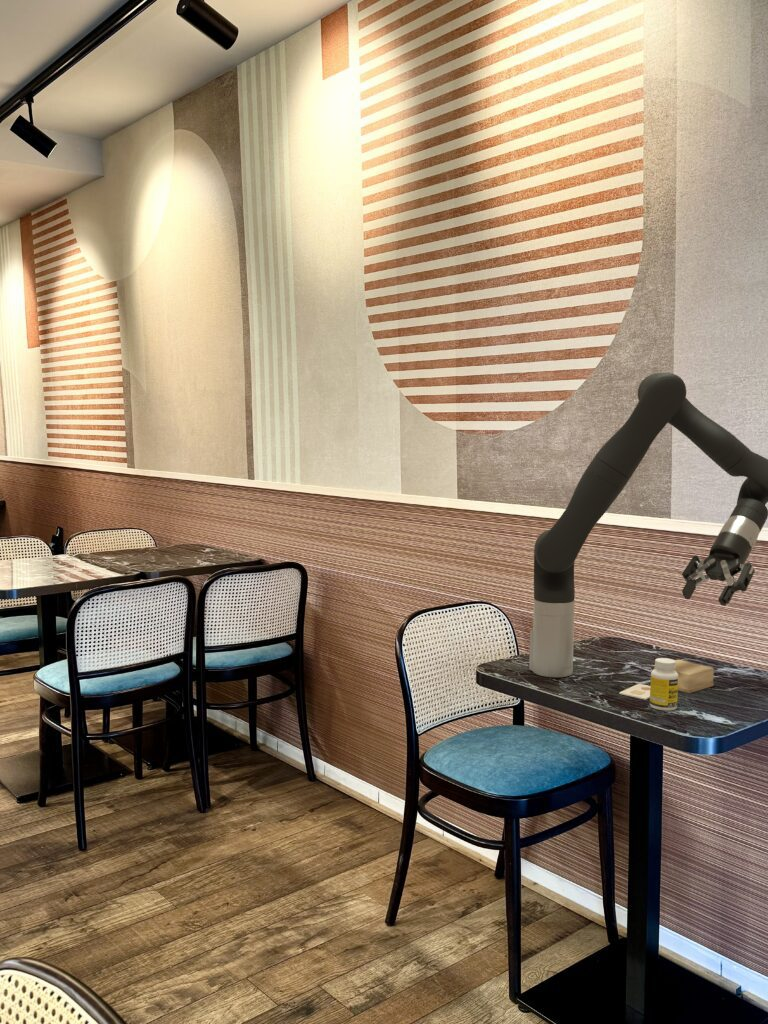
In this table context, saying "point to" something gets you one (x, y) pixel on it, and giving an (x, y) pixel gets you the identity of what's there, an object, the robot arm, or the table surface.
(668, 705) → the supplement bottle
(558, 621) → the robot arm
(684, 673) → the beech block
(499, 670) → the table surface
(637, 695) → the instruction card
